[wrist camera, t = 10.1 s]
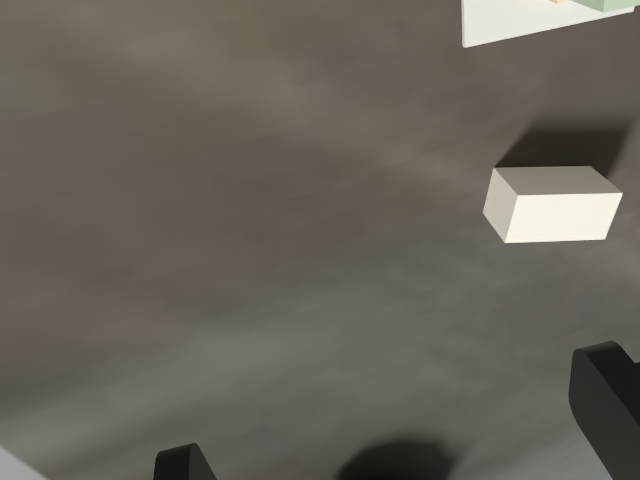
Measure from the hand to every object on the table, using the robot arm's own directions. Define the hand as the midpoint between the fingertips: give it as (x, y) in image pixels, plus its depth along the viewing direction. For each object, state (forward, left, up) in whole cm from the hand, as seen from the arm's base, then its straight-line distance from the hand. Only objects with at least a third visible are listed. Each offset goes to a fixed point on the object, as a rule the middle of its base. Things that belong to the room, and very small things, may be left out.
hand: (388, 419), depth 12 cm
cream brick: (+12, +15, -24) cm, 31 cm away
